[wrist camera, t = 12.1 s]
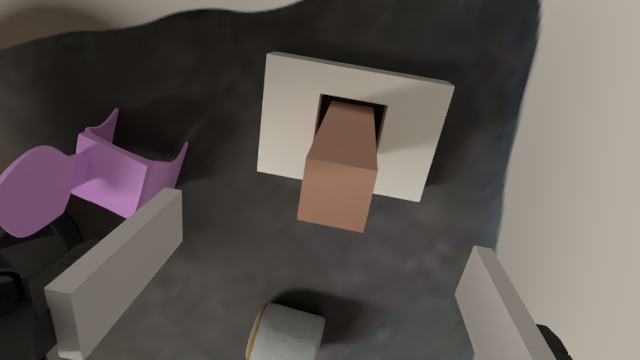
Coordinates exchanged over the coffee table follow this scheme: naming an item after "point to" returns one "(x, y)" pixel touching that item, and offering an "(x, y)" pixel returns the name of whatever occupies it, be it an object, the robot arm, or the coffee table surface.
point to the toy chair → (80, 180)
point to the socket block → (359, 84)
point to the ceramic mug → (285, 334)
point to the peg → (340, 169)
